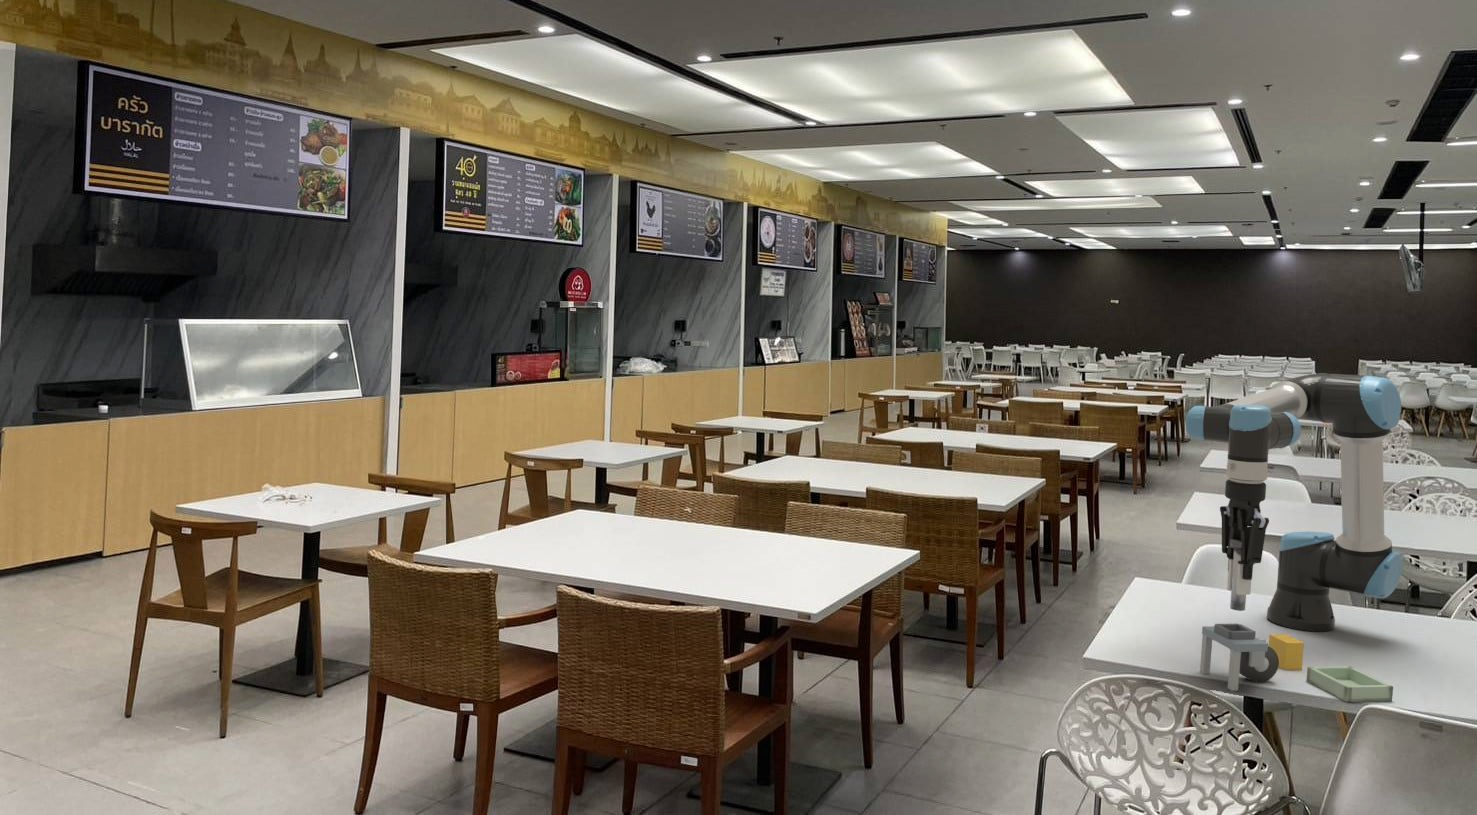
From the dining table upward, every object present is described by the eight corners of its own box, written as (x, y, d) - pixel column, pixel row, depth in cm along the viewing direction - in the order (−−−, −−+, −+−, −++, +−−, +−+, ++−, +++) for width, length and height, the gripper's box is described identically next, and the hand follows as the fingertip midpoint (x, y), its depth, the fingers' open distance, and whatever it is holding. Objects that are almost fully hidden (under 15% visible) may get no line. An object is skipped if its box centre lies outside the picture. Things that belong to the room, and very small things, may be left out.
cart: (1199, 671, 225) (1202, 619, 224) (1255, 670, 227) (1259, 619, 226) (1232, 691, 214) (1236, 637, 213) (1291, 690, 215) (1295, 636, 214)
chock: (1284, 660, 235) (1286, 634, 234) (1301, 669, 229) (1304, 642, 228) (1267, 660, 234) (1269, 634, 234) (1284, 670, 228) (1287, 643, 228)
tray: (1349, 680, 223) (1350, 666, 222) (1392, 701, 211) (1393, 686, 211) (1306, 680, 221) (1307, 667, 221) (1346, 702, 209) (1347, 687, 209)
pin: (1241, 605, 221) (1245, 537, 220) (1253, 611, 217) (1258, 542, 216) (1221, 606, 221) (1225, 537, 219) (1234, 612, 216) (1238, 542, 215)
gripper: (1207, 474, 223) (1200, 582, 226) (1252, 487, 208) (1244, 603, 210) (1240, 474, 224) (1233, 581, 227) (1287, 486, 209) (1279, 602, 211)
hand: (1238, 591), depth 219 cm, fingers closed on pin, 2 cm apart
